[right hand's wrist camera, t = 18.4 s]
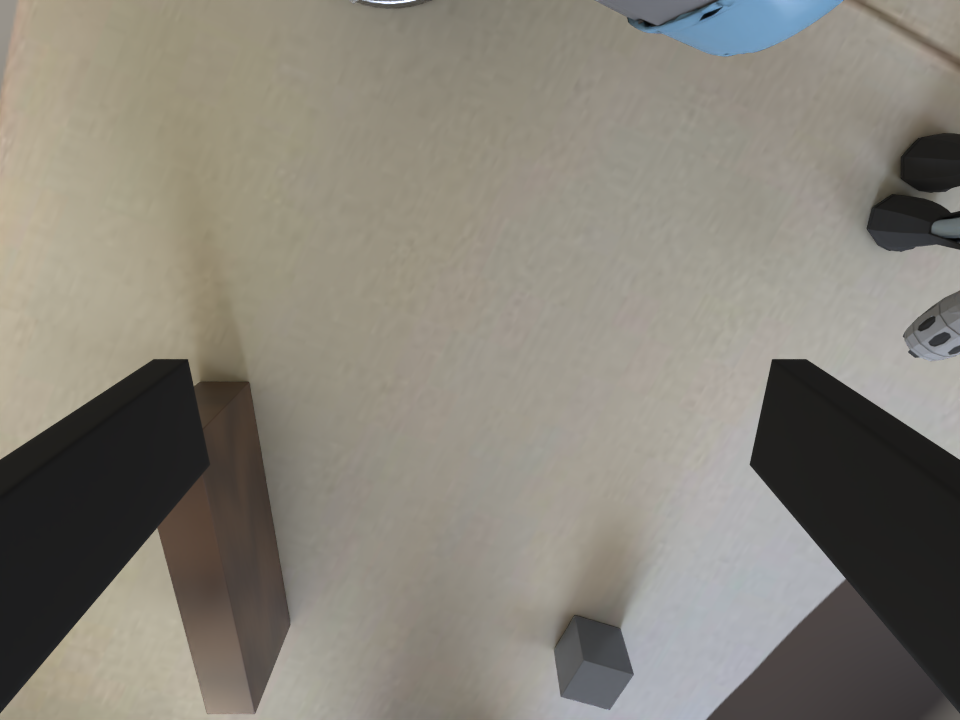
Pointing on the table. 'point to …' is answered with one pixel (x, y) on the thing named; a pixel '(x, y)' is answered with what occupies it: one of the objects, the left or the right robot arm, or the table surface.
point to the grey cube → (592, 663)
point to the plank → (228, 558)
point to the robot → (925, 235)
